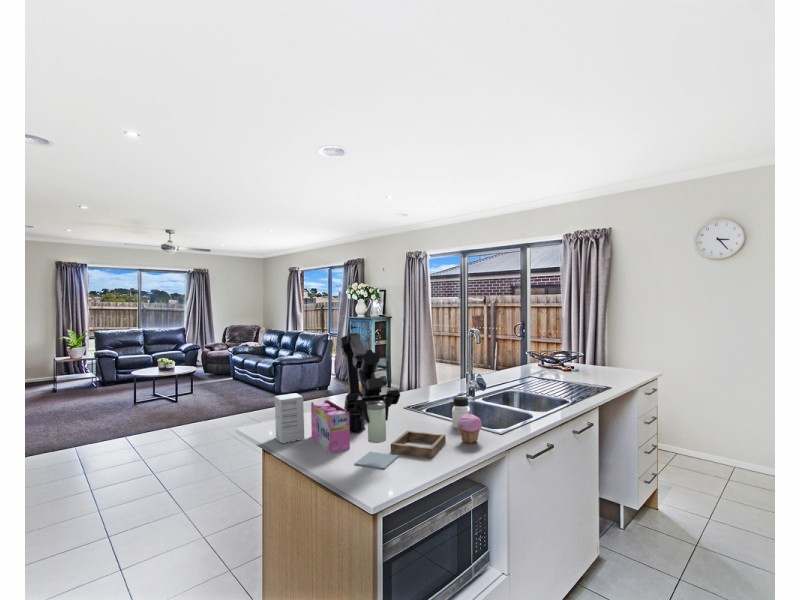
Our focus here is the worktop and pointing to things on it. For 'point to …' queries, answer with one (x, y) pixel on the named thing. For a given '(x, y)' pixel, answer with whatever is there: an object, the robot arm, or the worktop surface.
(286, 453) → the worktop surface
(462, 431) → the cupcake
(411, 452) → the walnut frame
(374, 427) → the plastic jar
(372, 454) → the rubber mat
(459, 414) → the medicine bottle
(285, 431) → the supplement box
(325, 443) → the gum box
